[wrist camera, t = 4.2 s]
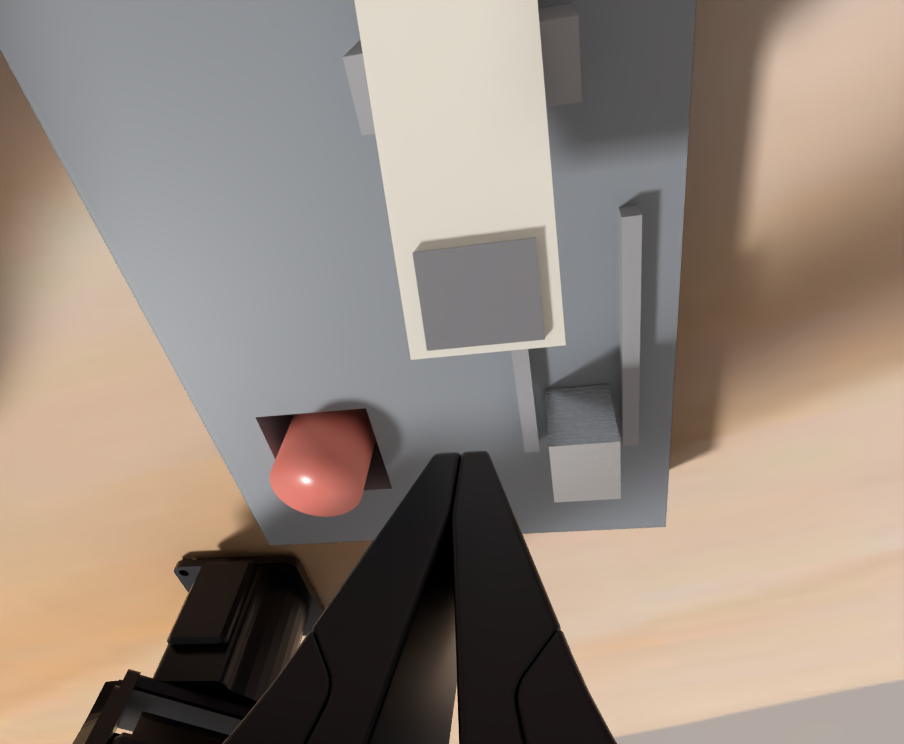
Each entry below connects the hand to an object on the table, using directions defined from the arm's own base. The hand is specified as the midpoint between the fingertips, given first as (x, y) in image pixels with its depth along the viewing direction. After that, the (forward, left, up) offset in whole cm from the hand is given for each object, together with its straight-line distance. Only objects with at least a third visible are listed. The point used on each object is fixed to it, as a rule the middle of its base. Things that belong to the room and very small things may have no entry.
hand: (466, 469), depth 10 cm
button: (-8, +7, -11) cm, 15 cm away
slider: (-7, -2, -9) cm, 11 cm away
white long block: (+4, 0, -6) cm, 7 cm away
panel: (-2, +3, -11) cm, 12 cm away
